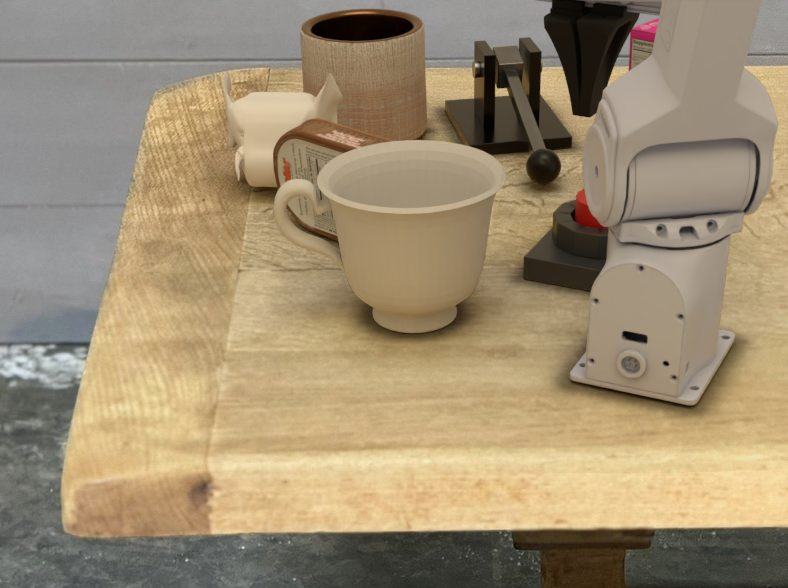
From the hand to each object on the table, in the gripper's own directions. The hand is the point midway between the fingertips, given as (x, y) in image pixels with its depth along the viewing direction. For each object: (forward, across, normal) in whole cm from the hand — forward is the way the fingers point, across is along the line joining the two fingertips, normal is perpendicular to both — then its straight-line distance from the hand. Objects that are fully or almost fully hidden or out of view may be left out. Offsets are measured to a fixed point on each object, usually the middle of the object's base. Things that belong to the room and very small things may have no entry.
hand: (586, 112), depth 94 cm
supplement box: (+9, 0, -16) cm, 19 cm away
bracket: (+9, +16, -18) cm, 26 cm away
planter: (+9, +26, -11) cm, 30 cm away
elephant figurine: (+9, +26, +2) cm, 28 cm away
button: (+6, -3, +3) cm, 8 cm away
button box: (+9, -3, +3) cm, 10 cm away
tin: (+10, +14, +9) cm, 19 cm away
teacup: (+10, +5, +18) cm, 21 cm away
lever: (+7, +12, -13) cm, 19 cm away
